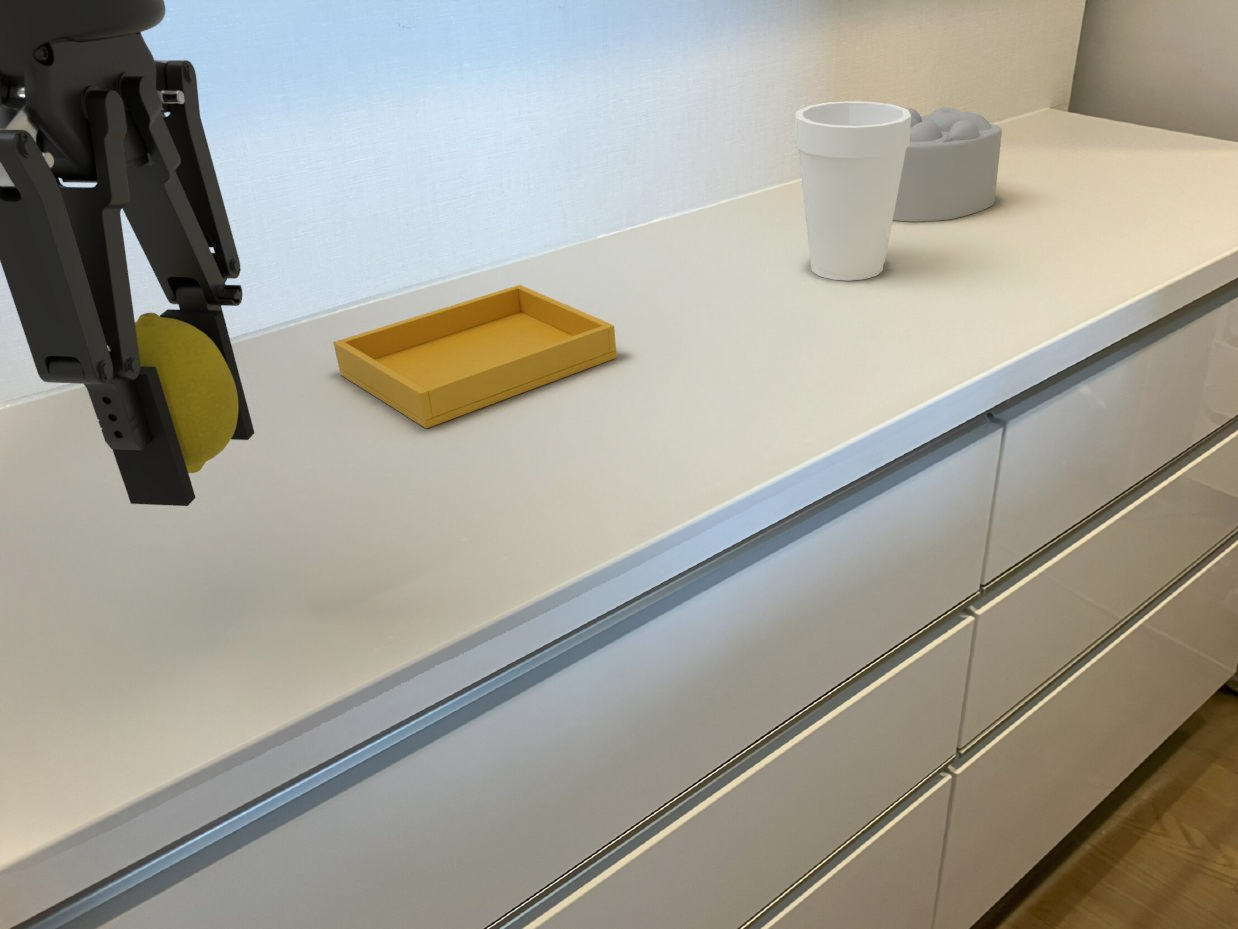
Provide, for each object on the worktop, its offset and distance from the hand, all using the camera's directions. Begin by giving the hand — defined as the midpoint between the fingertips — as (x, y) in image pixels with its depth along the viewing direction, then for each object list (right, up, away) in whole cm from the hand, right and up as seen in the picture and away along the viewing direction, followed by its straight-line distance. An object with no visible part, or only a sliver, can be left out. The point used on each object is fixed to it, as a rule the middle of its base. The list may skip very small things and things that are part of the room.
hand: (195, 465), depth 55 cm
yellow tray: (+7, +9, +30) cm, 32 cm away
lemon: (0, 0, 0) cm, 1 cm away
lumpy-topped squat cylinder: (+46, +30, +61) cm, 82 cm away
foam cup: (+36, +20, +46) cm, 62 cm away
